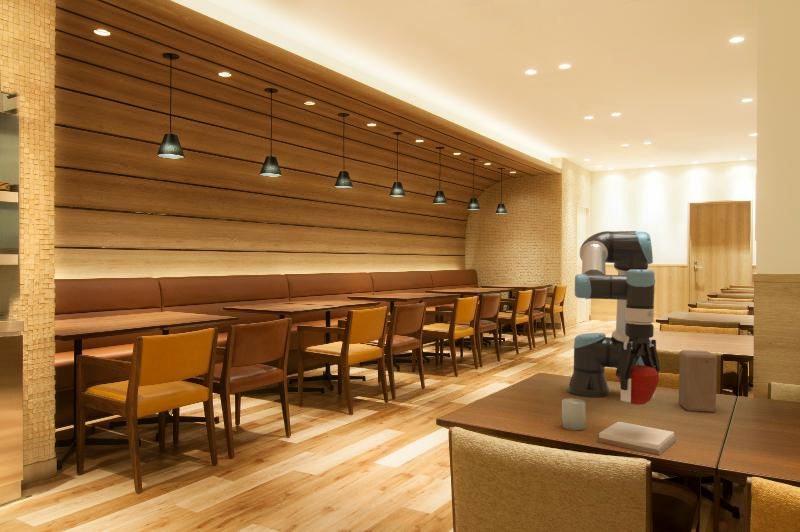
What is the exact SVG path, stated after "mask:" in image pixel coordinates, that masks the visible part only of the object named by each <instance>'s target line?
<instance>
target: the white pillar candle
mask: <svg viewBox="0 0 800 532" xmlns="http://www.w3.org/2000/svg"><path fill="white" fill-rule="evenodd" d="M561 426H562V428H563V429H566V430H569V431H570V430H571V431H583V430H585V429H586V401H585V400H584V399H580V398H570V397H569V398H563V399H562V400H561Z"/></svg>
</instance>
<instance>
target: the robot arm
mask: <svg viewBox="0 0 800 532" xmlns="http://www.w3.org/2000/svg"><path fill="white" fill-rule="evenodd" d="M651 239H652V238H651V235H650V233H648V232H647V231H637V230H632V231H631V230H630V231H629V230H627V231H626V230H623V231H621V230H619V231H610V230H609V231H607V230H606V231H599V232H596V233H594V234H593V235H591V236H589V237H588V238H586V239H585V240H584V241H583V242H582V244H581V246H580V249H579V258H580V259H581V266H582V267H581V274H580V273H579V274H576V275H575V276H574V296H575V298H577V299H579V298H580V299H585V300H589V299H590V300H591V299H592V300H616V317H615V319H616V322H615V325H616V326H615V330H614V331H612V333H611V336H610V337H606V333H604V332H588V333H582V334H578V335H576V336H575V338H574V340H573V342H574V343H573V370H572V375H571V377H570V381H569V383H568V387H567V388H568V392H569V393H570V394H573V395H577V396H582V397H591V398H593V397H594V398H600V397H601V398H602V397H607V396H610V395H609V394H610V387H609V386H608V382H607V378H606V375H605V371H606V370H605V368H611V369H613V368H614V369H616V370H615V376H616V377H617V378H618V377H620V378H621V384H620V401H622V402H625V403H626V402H627V403H630V402H631V379H629V377H630V374H631V372H632V369H633V367H634V365H638V364H639V365H642V366H648V367H652V368H654V369H655V370H656V371H657V372H658V374H660V371H661V366H660V361H659V360H660V359H659V356H658V351H657V340H656V339H652V338H653V337H654V333H655V331H654V329H655V327H654V324H652V323H654V322H655V321H654V320H655V319H654V316H655V312H654V311H655V285H656V278H655V272H654V270H652V269H648V268H649V265H651V264H653V262H654V260H653V258H654V255H653V247H652V240H651ZM606 264H613V268H614V270H616V271H617V274H606V271H607V270H606ZM637 363H638V364H637ZM655 394H656V391H655V392H654V394H653V396H652V398H655Z"/></svg>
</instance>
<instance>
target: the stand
mask: <svg viewBox="0 0 800 532" xmlns="http://www.w3.org/2000/svg"><path fill="white" fill-rule="evenodd" d="M598 435H599V436H597V437H596V442H598V443H601V444H606V445H611V446H616V447H620V448H625V449H629V450H632V451H639V452H642V453H648V454H651V455H656V456H660V455H661V454H662V453H664V452H665V451H666V450H667V449H669V447H671V446H672V445H673V444H674V443H675V442H676V441H677V436H675V431H672V430H671V431H670V430H665V429H660V428H655V427H650V426H649V427H648V426H643V425H639V424H633V423H630V422H629V423H628V422H622V421H617V422H615V423H613V424H612V425H611V426H608V427H607V428H605V429H604V430H601V431H600V432H599V434H598Z"/></svg>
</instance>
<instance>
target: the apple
mask: <svg viewBox="0 0 800 532" xmlns="http://www.w3.org/2000/svg"><path fill="white" fill-rule="evenodd" d="M637 364H638V363H637ZM659 374H660V373H659ZM659 374H658V372H657V371H656V370H655V369H654V368H652V367H648V366H642V365H639V364H638V365H634V367H633V369H632V372H631V374H630V377H629V379H631V402H629V403H630V404H631V405H636V406H638V405H639V406H641V405H646V404H647V403H648V402H650V401H651V399H652V398H653V397H652V396H653V394H654V392H655V393H656V389H657V387H658V385H659V382H660V381H659V379H660V377H659V376H660V375H659ZM617 378H618V380H619V381H618V382H619V384H620V385H621V378H620V377H617Z"/></svg>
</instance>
